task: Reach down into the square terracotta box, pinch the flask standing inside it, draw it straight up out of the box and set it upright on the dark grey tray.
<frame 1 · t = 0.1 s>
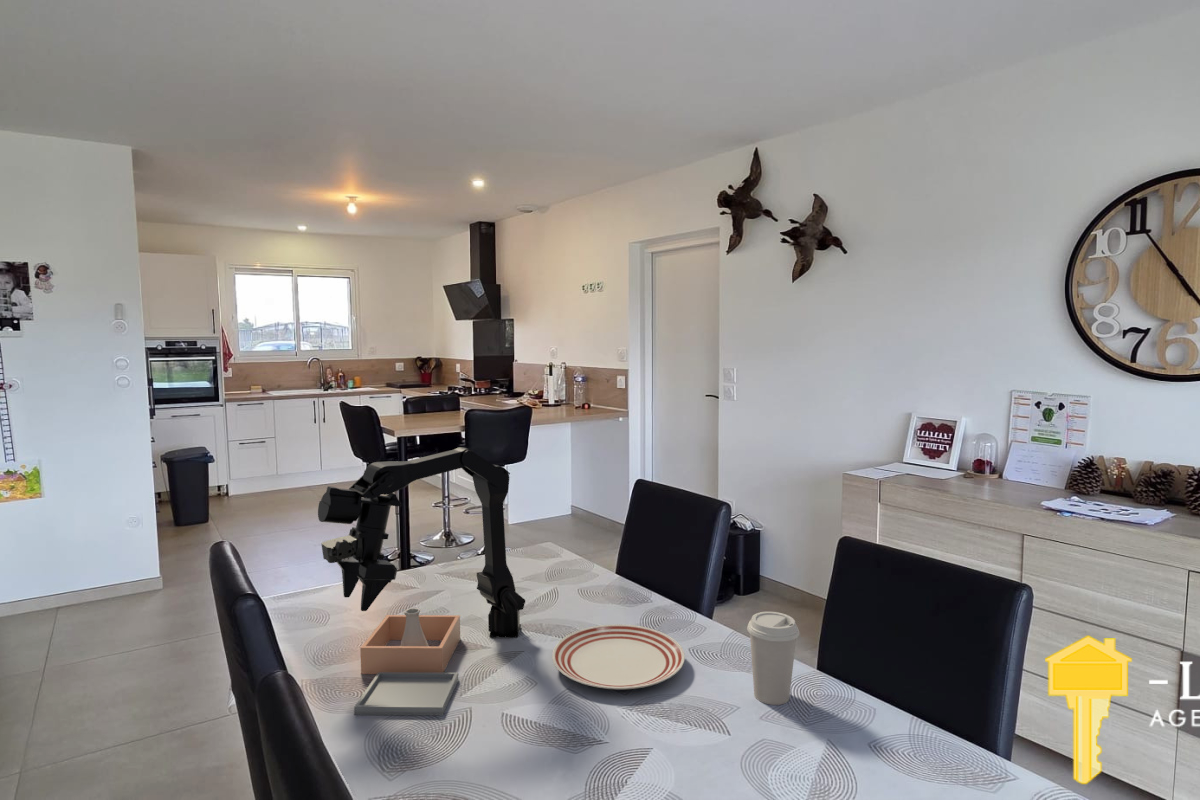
hand: (354, 603, 136), 15 cm above the table, tool pointing down, fingers open, 9 cm apart
dinner plate: (618, 667, 143), on the table
terracotta box: (413, 655, 148), on the table
flask: (413, 656, 148), on the table
coffee cup: (771, 697, 131), on the table
grey tray: (408, 696, 131), on the table
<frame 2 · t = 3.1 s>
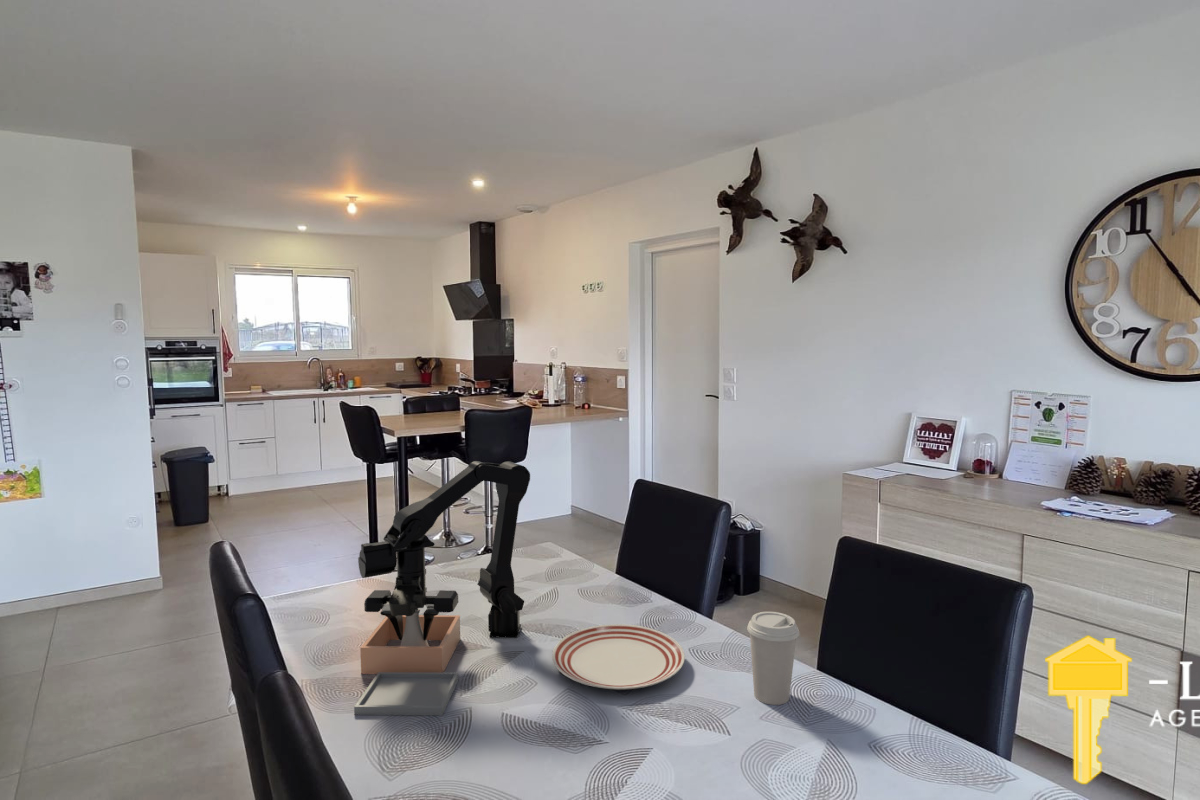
hand: (413, 639, 147), 4 cm above the table, tool pointing down, fingers closed on flask, 5 cm apart
flask: (413, 656, 148), on the table, touching gripper
everything else where it was.
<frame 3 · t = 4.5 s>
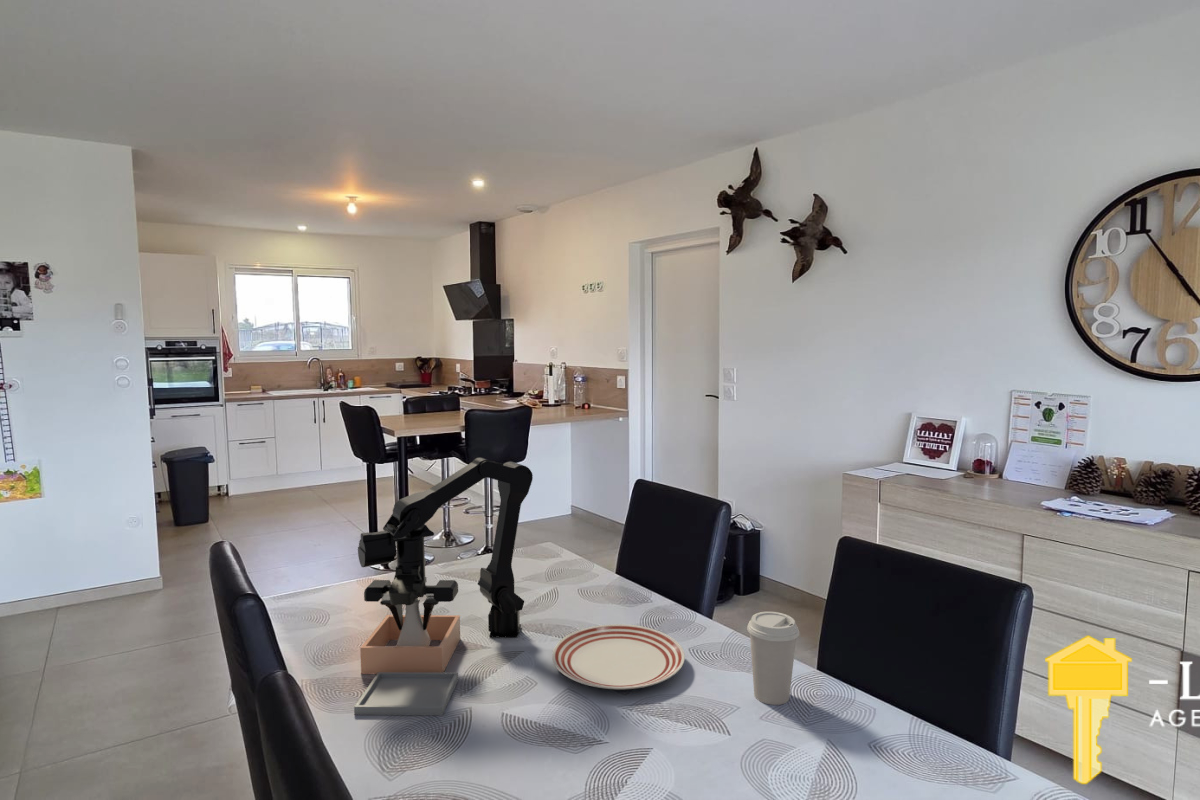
hand: (412, 629, 147), 6 cm above the table, tool pointing down, fingers closed on flask, 5 cm apart
flask: (413, 646, 148), point 2 cm above the table, touching gripper
everything else where it was.
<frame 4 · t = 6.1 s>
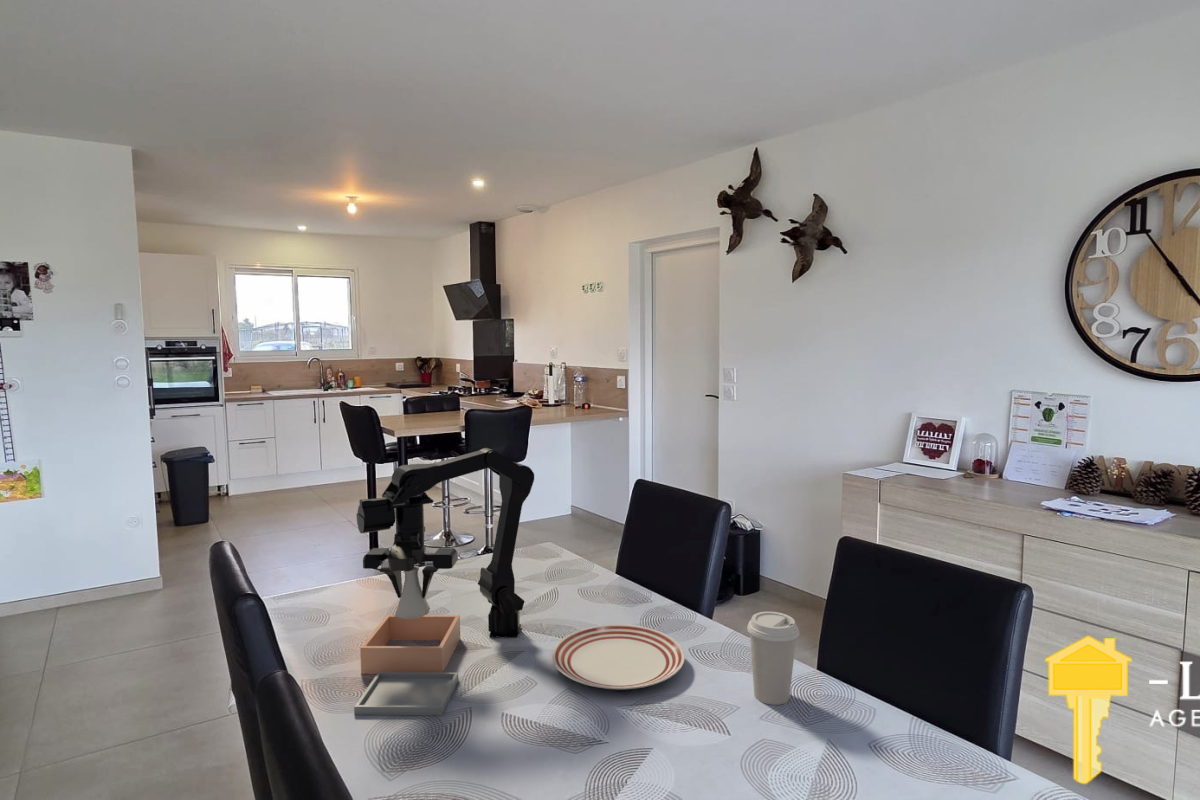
hand: (412, 597, 146), 13 cm above the table, tool pointing down, fingers closed on flask, 5 cm apart
flask: (412, 614, 147), point 9 cm above the table, touching gripper
everything else where it was.
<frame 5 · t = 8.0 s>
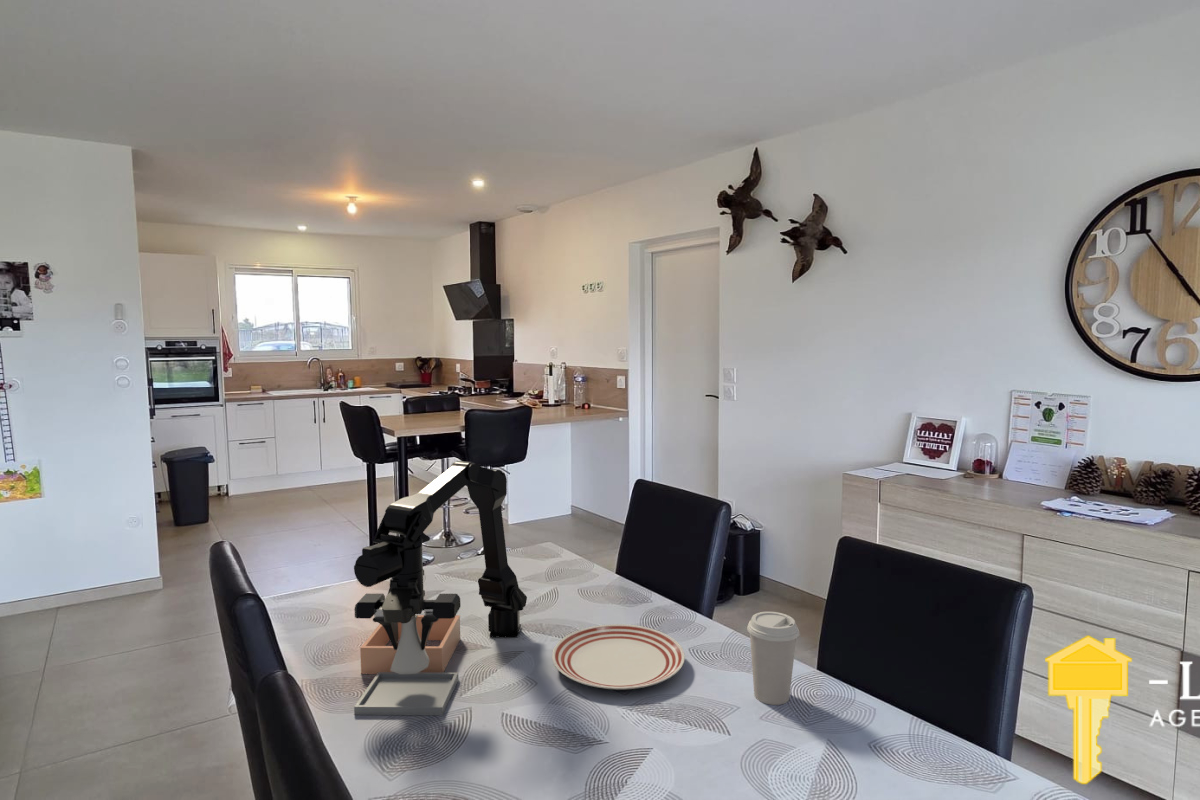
hand: (409, 649, 131), 9 cm above the table, tool pointing down, fingers closed on flask, 5 cm apart
flask: (410, 667, 131), point 5 cm above the table, touching gripper
everything else where it was.
when the fingers open (5 cm above the table, at t = 9.3 s): flask drops 1 cm, resting on grey tray.
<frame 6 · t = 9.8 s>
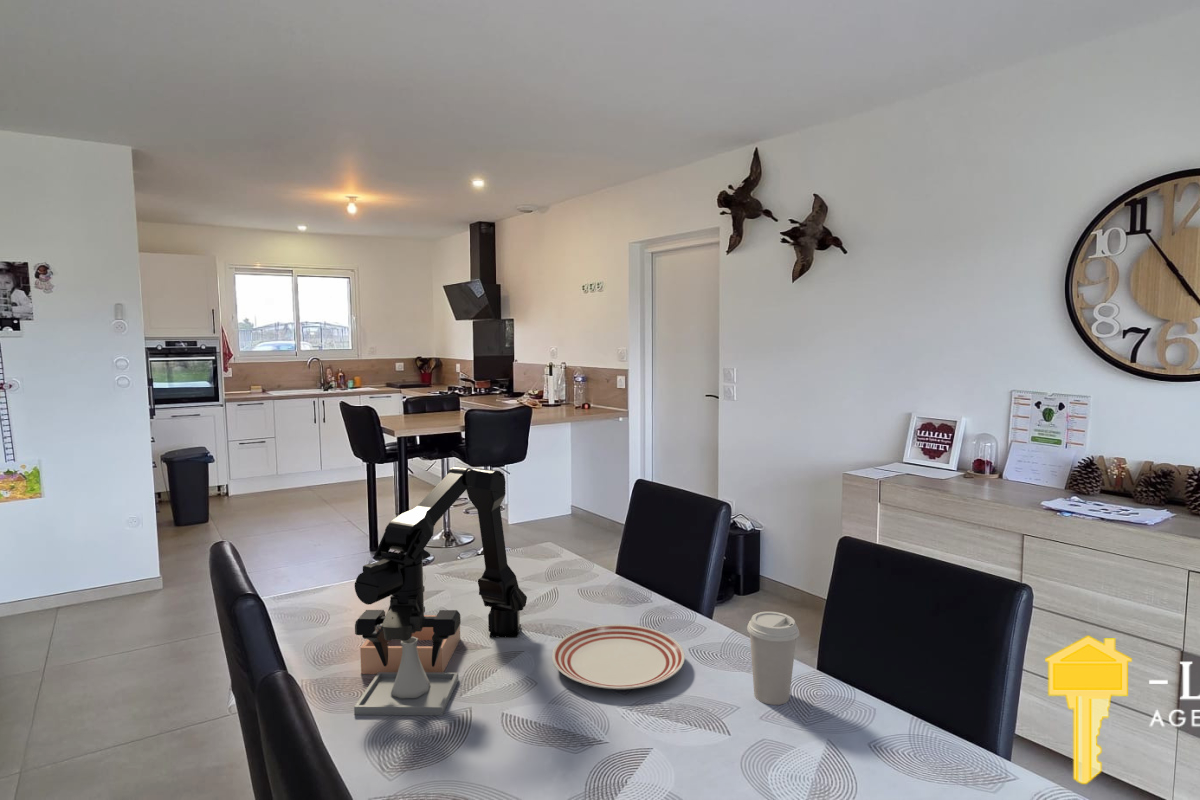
hand: (409, 665, 131), 6 cm above the table, tool pointing down, fingers open, 9 cm apart
flask: (410, 691, 132), resting on grey tray
everything else where it was.
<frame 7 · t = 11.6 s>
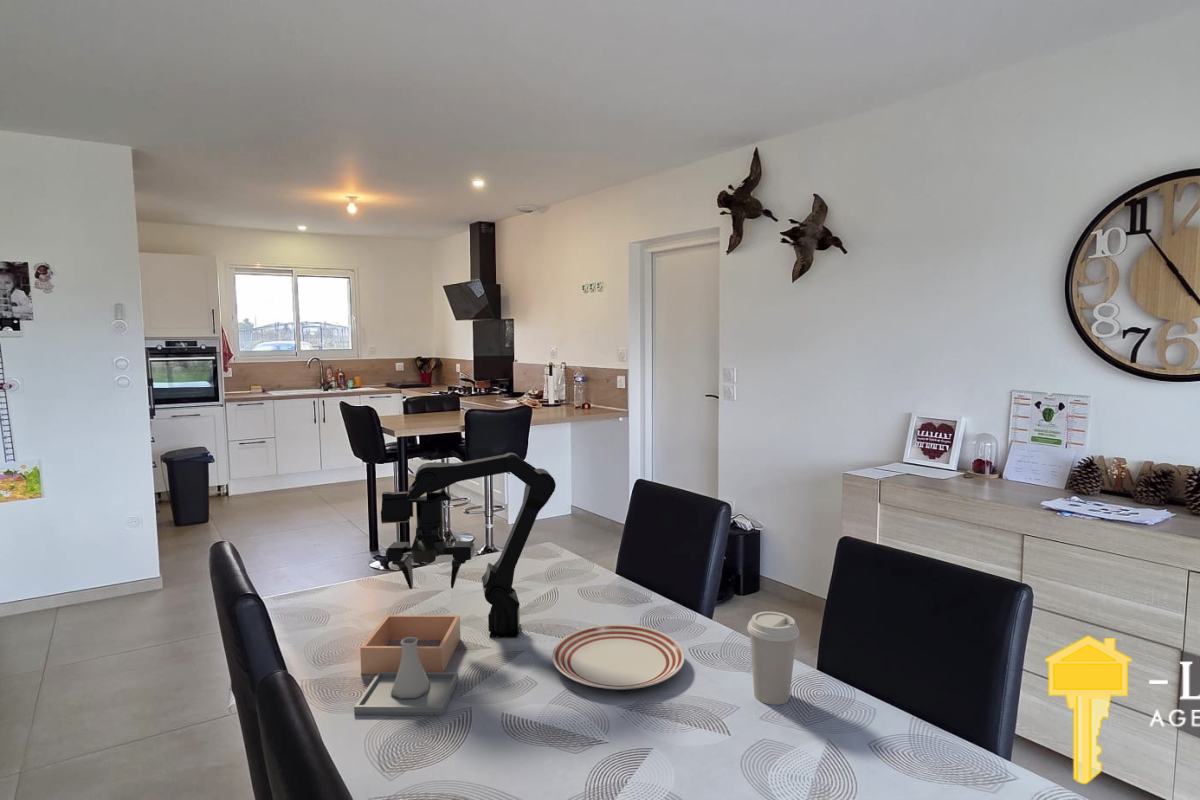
hand: (431, 588, 155), 12 cm above the table, tool pointing down, fingers open, 9 cm apart
nothing on the table moved.
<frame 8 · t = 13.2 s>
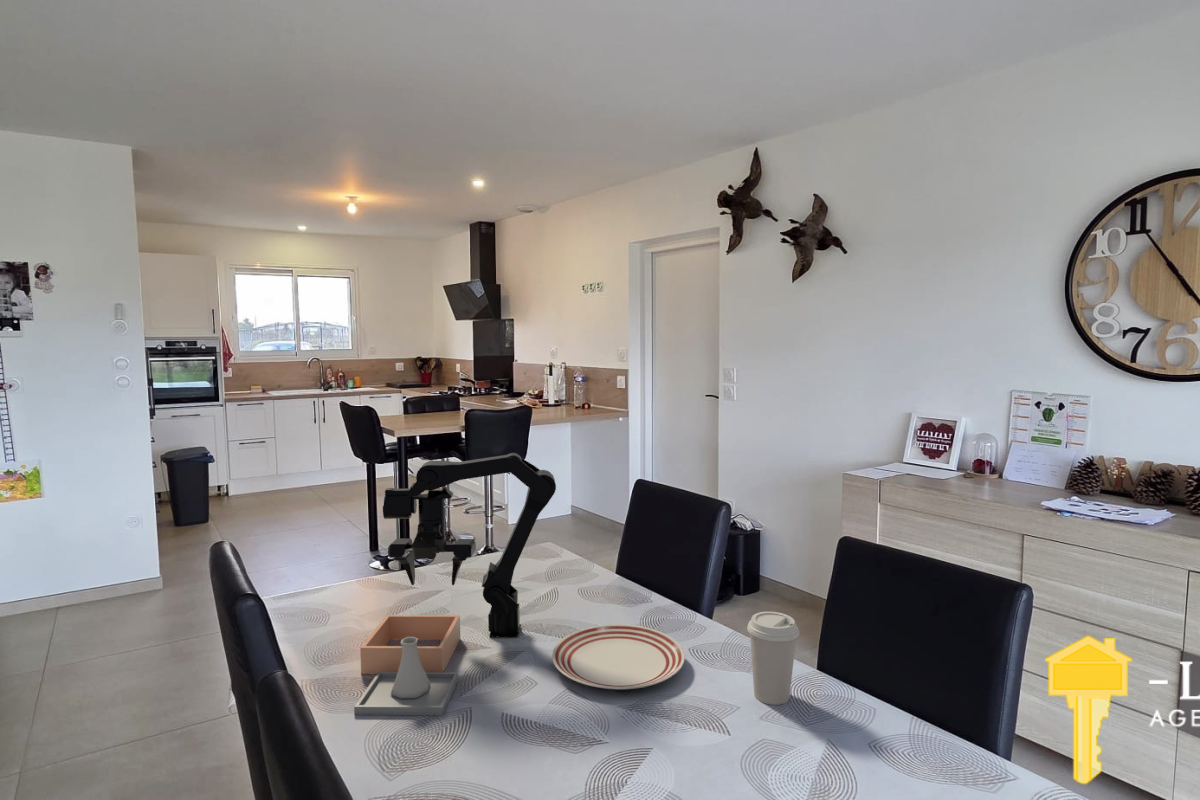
hand: (433, 584, 157), 12 cm above the table, tool pointing down, fingers open, 9 cm apart
nothing on the table moved.
at the end: flask inside the target area on the grey tray (1.1 cm from its centre), point 0.4 cm above the grey tray's base; flask tilted 0°; the gripper is holding nothing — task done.
